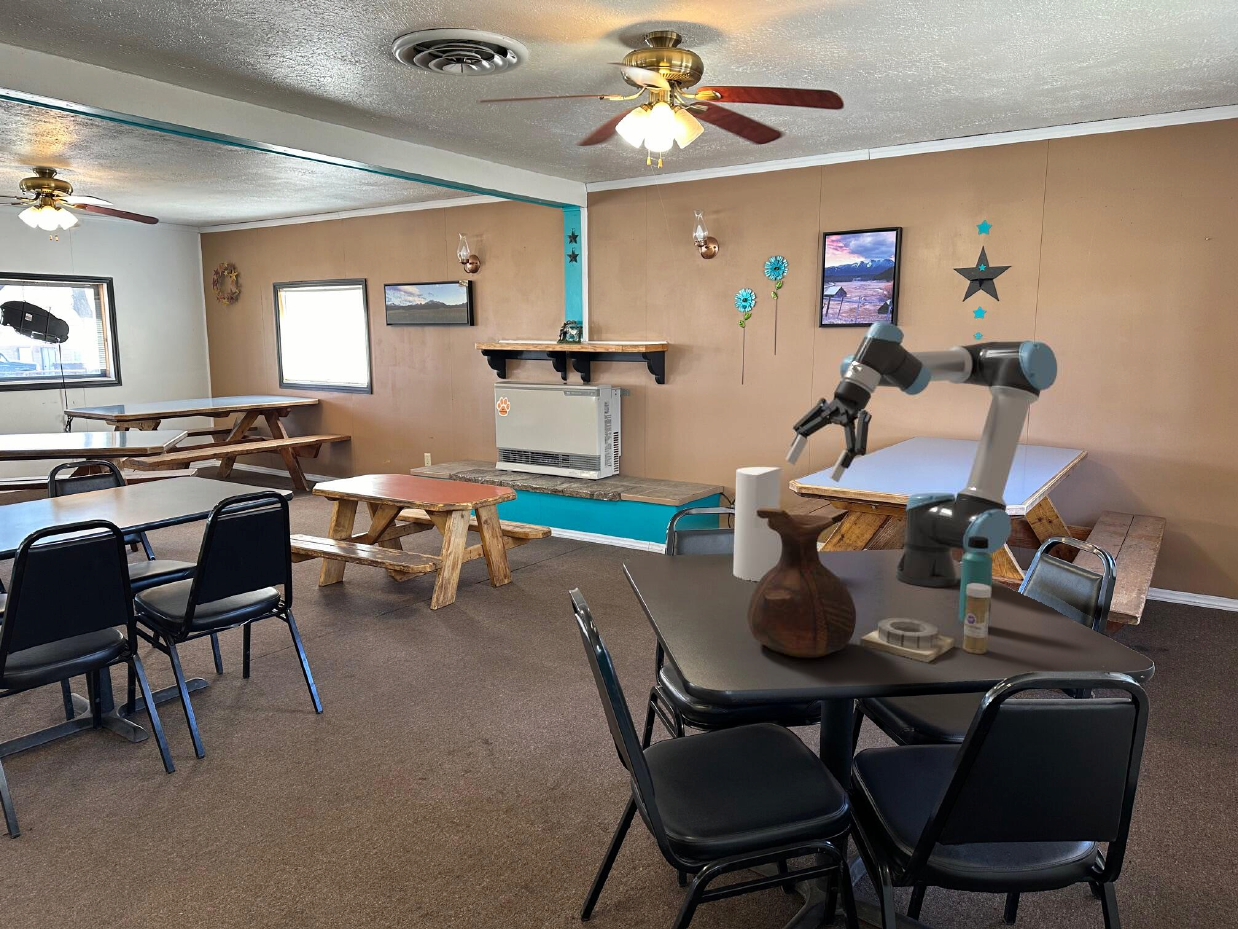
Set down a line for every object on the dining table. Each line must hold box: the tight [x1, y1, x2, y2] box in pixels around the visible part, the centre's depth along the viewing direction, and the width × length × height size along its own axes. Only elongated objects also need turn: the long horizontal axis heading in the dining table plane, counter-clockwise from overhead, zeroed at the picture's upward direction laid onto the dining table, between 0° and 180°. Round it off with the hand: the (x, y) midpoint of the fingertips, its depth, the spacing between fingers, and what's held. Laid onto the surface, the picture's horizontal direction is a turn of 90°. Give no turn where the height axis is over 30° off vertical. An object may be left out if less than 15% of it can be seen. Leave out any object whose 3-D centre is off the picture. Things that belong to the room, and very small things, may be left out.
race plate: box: [859, 617, 955, 663], centre depth 172 cm, size 13×14×4 cm
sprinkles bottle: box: [962, 583, 992, 655], centre depth 169 cm, size 5×5×14 cm
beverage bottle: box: [957, 536, 994, 623], centre depth 183 cm, size 6×7×20 cm
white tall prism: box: [732, 466, 782, 583], centre depth 225 cm, size 17×17×28 cm
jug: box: [747, 508, 857, 659], centre depth 168 cm, size 22×22×30 cm
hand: (810, 470), depth 187 cm, fingers open, 13 cm apart
